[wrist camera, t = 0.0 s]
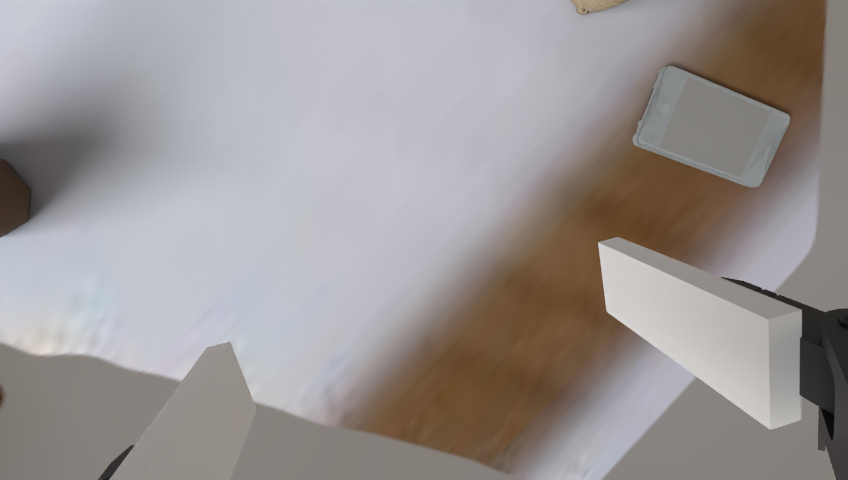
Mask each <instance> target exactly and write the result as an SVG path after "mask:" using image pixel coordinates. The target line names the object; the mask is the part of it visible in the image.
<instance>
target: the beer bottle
mask: <svg viewBox="0 0 848 480" xmlns="http://www.w3.org/2000/svg"><path fill="white" fill-rule="evenodd" d="M30 191H31V189H30V188H29V187H28V186H27V185H26V184H25V182H24V181H23V180H22V179H21V178H20V177H19V176H18V174H17V173H16V172H15V171H14V170H13V169H12V167H11V166H10V165H9V164H8V163H7V162H6V161H4V160H1V159H0V238H1V237H2V236H4V235H6V234H7V233H9V232H11V231H12V230H14V229H16V228H17V227H19V226H21V225H22V224H24V223H26V222H27V221H28V216H29V203H30Z"/></svg>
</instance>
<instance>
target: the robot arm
mask: <svg viewBox="0 0 848 480" xmlns="http://www.w3.org/2000/svg"><path fill="white" fill-rule="evenodd" d="M598 246H599V254H600V262H601V270H602V278H603V286H604V294H605V302H606V310H607V312H608V313H609V314H611V315H612V316H614V317H615V318H616V319H618V320H619V321H620V322H622V323H623V324H625V325H626V326H627V327H629V328H630V329H632V330H633V331H634V332H636V333H637V334H638V335H640V336H641V337H643V338H644V339H645V340H647V341H648V342H650V343H651V344H652V345H654V346H655V347H656V348H658V349H659V350H661V351H662V352H663V353H665V354H666V355H667V356H669V357H670V358H672V359H673V360H674V361H676V362H677V363H679V364H680V365H681V366H683V367H684V368H685V369H687V370H688V371H690V372H691V373H692V374H694V375H695V376H697V377H698V378H699V379H701V380H702V381H704V382H705V383H706V384H708V385H709V386H710V387H712V388H713V389H715V390H716V391H717V392H719V393H720V394H722V395H723V396H724V397H726V398H727V399H728V400H730V401H731V402H733V403H734V404H735V405H737V406H738V407H739V408H741V409H742V410H744V411H745V412H746V413H748V414H749V415H751V416H752V417H753V418H755V419H756V420H758V421H759V422H760V423H762V424H763V425H764V426H766V427H767V428H769V429H770V430H771V429H774V428H777V427H780V426H784V425H787V424H790V423H793V422H796V421H799V420H801V396H802V397H804V398H806V399H807V400H809V401H811V402H812V403H814V404H816V405H817V406H819V426H818V450H822V451H825V447H827V451H828V454H829V457H830V460H831V464H832V467H833V470H834V474H835V477H836V480H848V309H836V310H832V311H828V312H823V311H820V310H818V309H815V308H813V307H810V306H807V305H804V304H802V303H799V302H797V301H794V300H791V299H789V298H786V297H784V296H781V295H778V296H777V295H776V293H773V292H771V291H768V290H765V289H764V290H762V288H760V287H758V286H755V285H752V284H750V283H747V282H744V281H740V280H735V279H729V278H724V277H718V276H715V275H713V274H710V273H708V272H705V271H703V270H700V269H698V268H695V267H692V266H690V265H687V264H685V263H682V262H680V261H677V260H675V259H672V258H670V257H667V256H665V255H662V254H660V253H657V252H655V251H652V250H650V249H647V248H645V247H642V246H640V245H637V244H635V243H632V242H630V241H627V240H624V239H622V238H619V237H616V238H612V239H609V240H605V241H601V242H598ZM256 412H257V410H256V407H255V404H254V402H253V399H252V397H251V394H250V391H249V389H248V386H247V384H246V381H245V379H244V376H243V374H242V371H241V369H240V366H239V363H238V361H237V358H236V356H235V353H234V351H233V348H232V346H231V343H230V342H227V343H223V344H219V345H216V346H212V347H208V348H206V350H205V351H204V352H203V354H202V355H201V356H200V358H199V359H198V361H197V362H196V363H195V365H194V366H193V367H192V369H191V370H190V371H189V373H188V374H187V375H186V377H185V378H184V379H183V381H182V382H181V384H180V385H179V386H178V388H177V389H176V390H175V392H174V393H173V394H172V396H171V397H170V399H169V400H168V401H167V402H166V404H165V405H164V406H163V408H162V409H161V411H160V412H159V413H158V415H157V416H156V417H155V419H154V420H153V421H152V423H151V424H150V425H149V427H148V428H147V429H146V431H145V432H144V434H143V435H142V436H141V438H140V439H139V440H138V442H137V443H136V444H135V445H132V446H130V447H129V448H128V449H126V450H125V451H124V452H123V453H122V454H121V455H119V456H118V457H117V458H116V459H115V460H114V461H113V462H111V464H110V465H109V466H108V468H107V469H106V470H105V471H104V473H103V474H102V475H101V477H100V478H99V479H98V480H230V479H231V476H232V473H233V471H234V469H235V466H236V464H237V461H238V458H239V456H240V453H241V450H242V448H243V445H244V443H245V440H246V438H247V435H248V432H249V430H250V427H251V425H252V422H253V420H254V417H255V415H256Z"/></svg>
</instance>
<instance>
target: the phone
mask: <svg viewBox="0 0 848 480" xmlns="http://www.w3.org/2000/svg"><path fill="white" fill-rule="evenodd" d="M658 74H659V76H658V78H657V81H656V82H655V83H654V86H653V88H652V89H654V91H653V93H652V96H651V98H650V101H649V103H648V106H647V108H646V111H645V113H644V116H643V118H642V120H641V121H639V123H638V126H637V127H638V128H637V131H636V133H635V135H634V136H633V143H634V145H635V146H638V147H640V148H643V149H646V150H648V151H651V152H654V153H657V154H659V155H662V156H665V157H668V158H670V159H673V160H676V161H679V162H681V163H684V164H687V165H689V166H692V167H695V168H698V169H700V170H703V171H706V172H709V173H711V174H714V175H717V176H719V177H722V178H725V179H728V180H730V181H733V182H736V183H739V184H741V185H744V186H747V187H757V186H759V185H760V184H761V182H762V180H763V178H764V176H765V174H766V172H767V170H768V167H769V165H770V163H771V161H772V159H773V157H774V155H775V152H776V150H777V148H778V146H779V144H780V142H781V140H782V138H783V135H784V133H785V131H786V129H787V127H788V125H789V122H790V116H789V115H788V114H787V113H784V112H782V111H779V110H777V109H775V108H772V107H770V106H767V105H765V104H763V103H760V102H758V101H756V100H753V99H751V98H748V97H746V96H744V95H741V94H739V93H736V92H734V91H732V90H729V89H727V88H724V87H722V86H720V85H717V84H715V83H713V82H710V81H708V80H705V79H703V78H701V77H698V76H696V75H693V74H691V73H689V72H686V71H684V70H682V69H679V68H677V67H674V66H666V67H663V68H662V69H661V70H660V71H659V73H658Z"/></svg>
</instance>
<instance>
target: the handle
mask: <svg viewBox="0 0 848 480" xmlns="http://www.w3.org/2000/svg"><path fill="white" fill-rule="evenodd" d="M570 1H571V2H573V3H574V5H575V6H576V9H577V12H578V13H579V14H581V15H585V14H588V13H589V12H598V11H603V10H606V9H609V8H611V7H614V6H617V5H619V4H621V3H623V2H625V1H627V0H570Z"/></svg>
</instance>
